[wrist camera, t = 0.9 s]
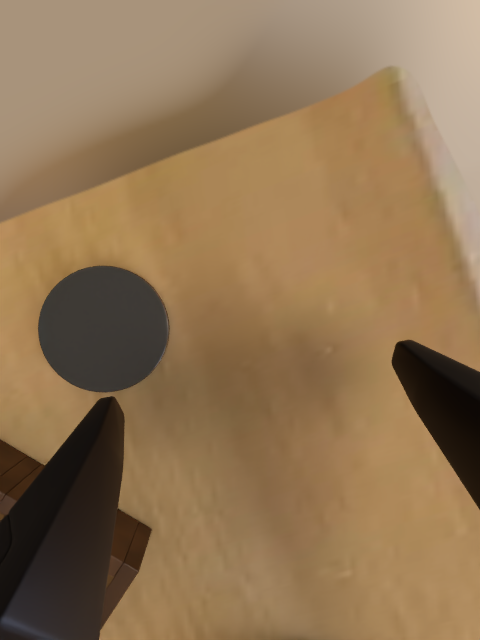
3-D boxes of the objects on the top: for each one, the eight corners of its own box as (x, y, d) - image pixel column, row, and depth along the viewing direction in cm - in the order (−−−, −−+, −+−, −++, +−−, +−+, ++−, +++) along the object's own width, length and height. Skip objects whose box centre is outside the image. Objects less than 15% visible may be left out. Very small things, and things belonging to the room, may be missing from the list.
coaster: (192, 350, 24) (191, 351, 24) (83, 413, 24) (80, 415, 23) (128, 243, 24) (126, 242, 23) (17, 305, 23) (12, 305, 23)
